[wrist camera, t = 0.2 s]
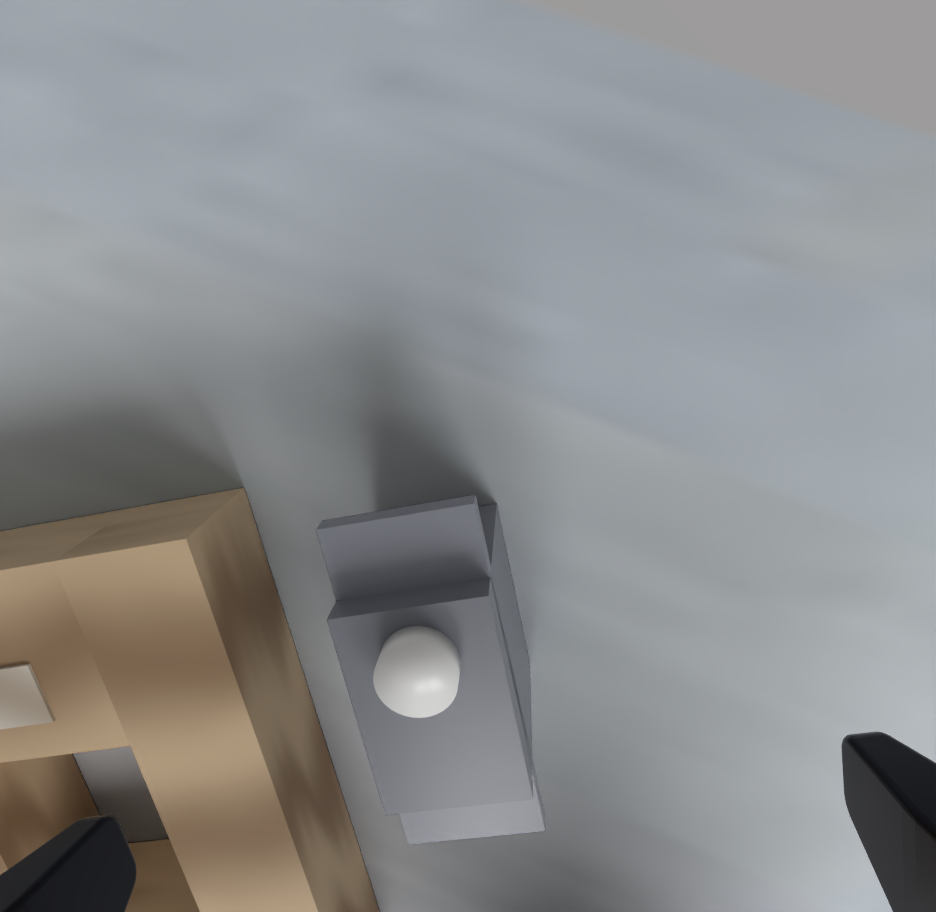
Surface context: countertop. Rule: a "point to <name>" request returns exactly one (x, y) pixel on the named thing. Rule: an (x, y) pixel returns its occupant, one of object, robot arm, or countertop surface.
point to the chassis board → (171, 707)
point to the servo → (436, 666)
